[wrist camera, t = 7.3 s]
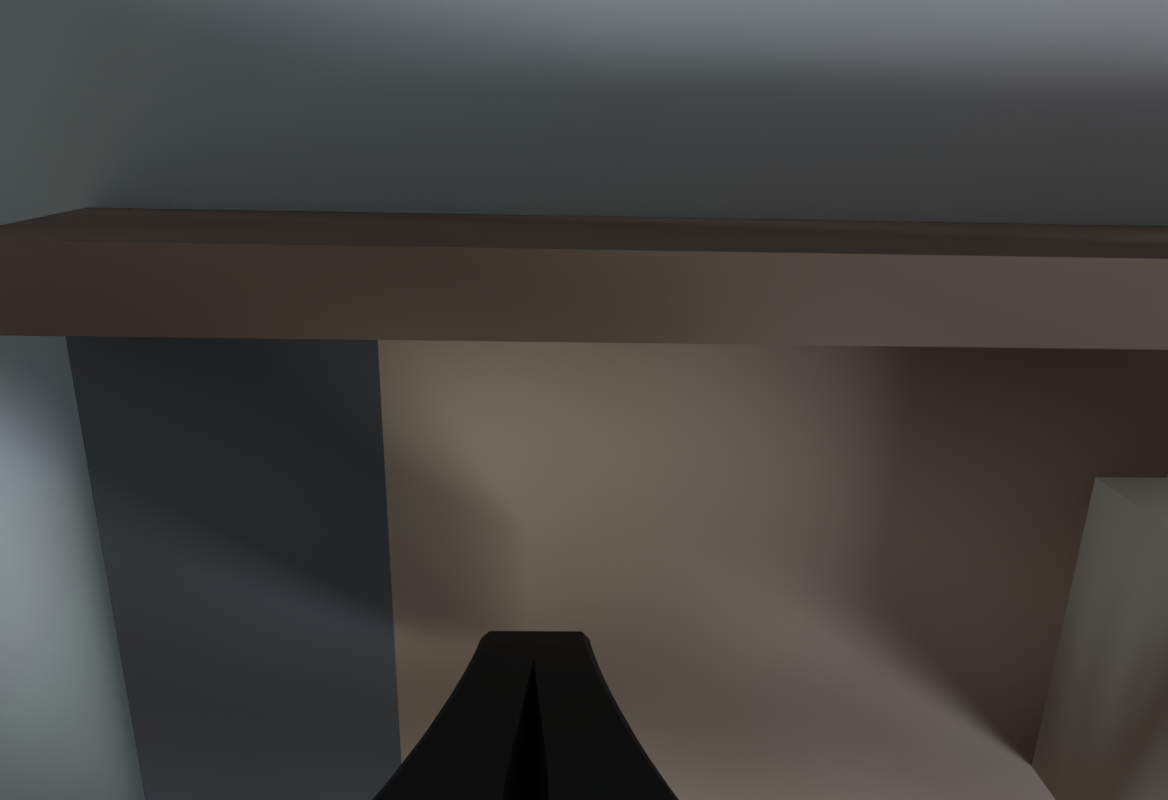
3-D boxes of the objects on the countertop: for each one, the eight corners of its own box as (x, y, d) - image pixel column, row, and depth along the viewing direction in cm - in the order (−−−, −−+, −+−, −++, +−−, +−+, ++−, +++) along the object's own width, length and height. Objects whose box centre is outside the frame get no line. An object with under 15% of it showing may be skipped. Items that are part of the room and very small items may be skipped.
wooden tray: (1377, 1037, 18) (1536, 1216, 15) (219, 1053, 17) (150, 1247, 14) (1720, 236, 12) (2066, 272, 10) (86, 207, 12) (-66, 239, 9)
